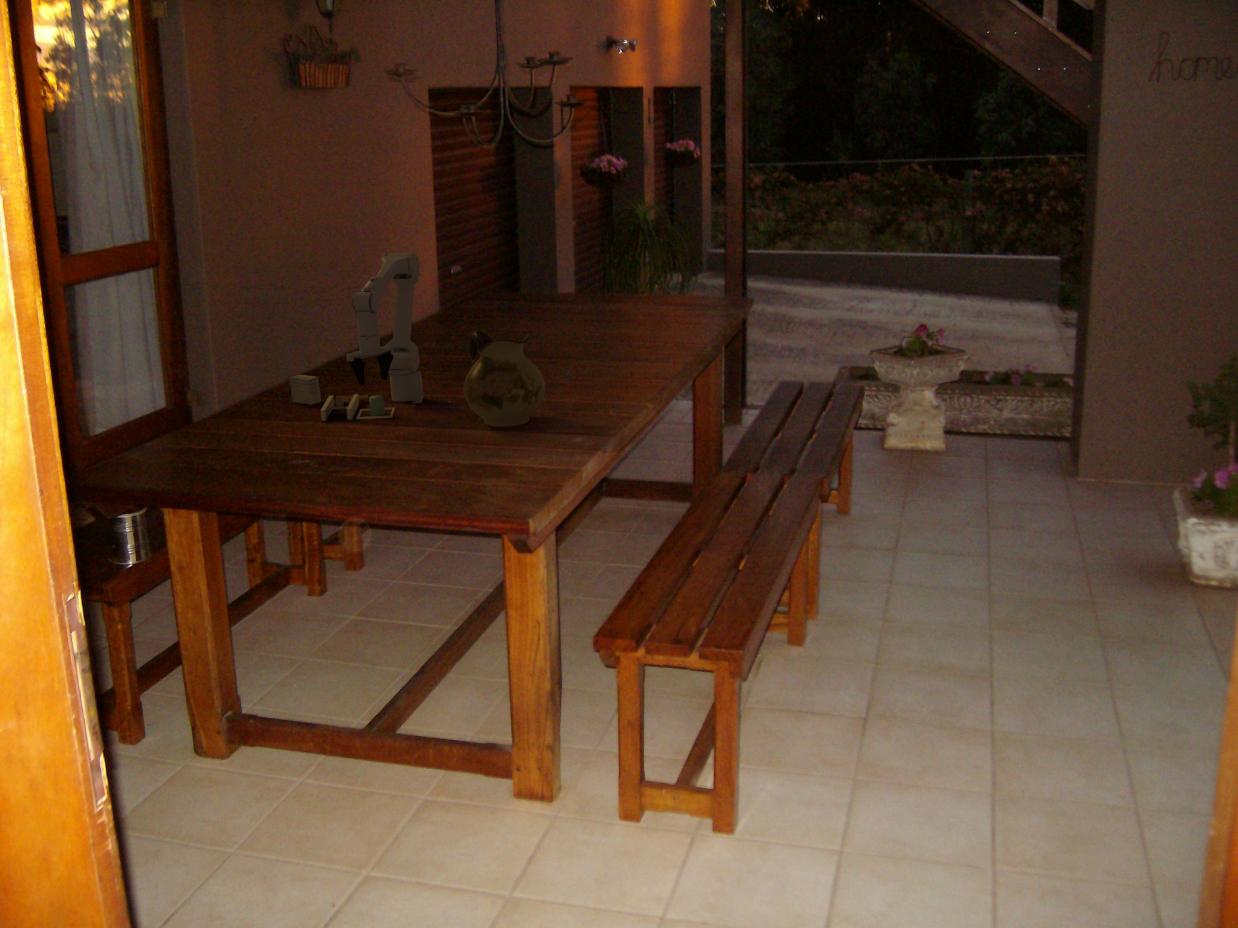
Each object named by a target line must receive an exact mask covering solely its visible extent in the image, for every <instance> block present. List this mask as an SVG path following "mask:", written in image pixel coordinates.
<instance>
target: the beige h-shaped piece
mask: <svg viewBox="0 0 1238 928" xmlns="http://www.w3.org/2000/svg"><path fill="white" fill-rule="evenodd" d="M352 395H353V397H352V399H350V400H349V404H348V407H347V409H346V416H347V421H348V420H353V418H354V417H355V416H354V415H355V414H356V411H357V409H358V407H359V405H360V399H359V398H358V395H359V393H356V394H352ZM334 399H335V398H334V395H328V397H327V399H326V401H325V402H324V404H323V406H322V407H321V409H320V416H321V418H320V419H321V422H326V421H327V420H328V418H329V416H330V414H331V413H332V411H333V409H331V410H330V409H327V407H335V400H334Z"/></svg>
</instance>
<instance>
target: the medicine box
mask: <svg viewBox="0 0 1238 928" xmlns="http://www.w3.org/2000/svg"><path fill="white" fill-rule="evenodd" d="M289 384H290V392H291V400H292V403H295V404H303V405H309V406H312V405H315V404H319V403H321V402H322V398H321V388H320V381H319V377H318V376H314V375H306V374H297V375H294V376H292V377H289Z"/></svg>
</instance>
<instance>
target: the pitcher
mask: <svg viewBox="0 0 1238 928" xmlns="http://www.w3.org/2000/svg"><path fill="white" fill-rule="evenodd" d="M530 337H531V333H528V334H527V335H526V336H525V338H523V340H522V341H518V340H512V339H504V338H499V339H495V340H494V339H493V338H492V337H491V336H490V335H489V334H488V333H486V332H484V331H482V330H480V329H476V330H474V332H473V333H472V334H471V336H470V337H469V338H470V339H469V348H468V349H469V353H470V358H471V361H472V362H471V364H470V370H469V372H468V373H467V375H466V377H465V380H464V382H463V394H464V398H465V400H466V402H467V405H468V406H469V407H470V408H471V410H472V411H473V412H474V413H475V414H476V415H477V416H479V417H480V418H481V419H482V420H483V422H484V424H486V426H488V427H493V428H512V427H518V426H522V425H525V424H527V423H529V421H530V417H531V415H532V414H533V413H534V412H535V411H536V409H537V408H538V407H539V406H540V404H541V402H542V400H543V398H544V396H545V391H546V383H545V378H544V377H543V374H542V373H541V371H540V370H539V369H538V367H537V366H536V365H535V364H534V363H532V361H531V360H530V359H529V358H528V357H526V355H525V354H524V350H523V349H524V345H525V344H526V343H527V342H528V340H529V339H530Z"/></svg>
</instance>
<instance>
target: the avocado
mask: <svg viewBox="0 0 1238 928" xmlns="http://www.w3.org/2000/svg"><path fill="white" fill-rule="evenodd" d="M368 399H369V400H368V401H369V409H370V411H369V412H370V417H372V416H386V410H385V408H386V407H385V400H384V396H383V395H381V394H375V395H371V396H368Z"/></svg>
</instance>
